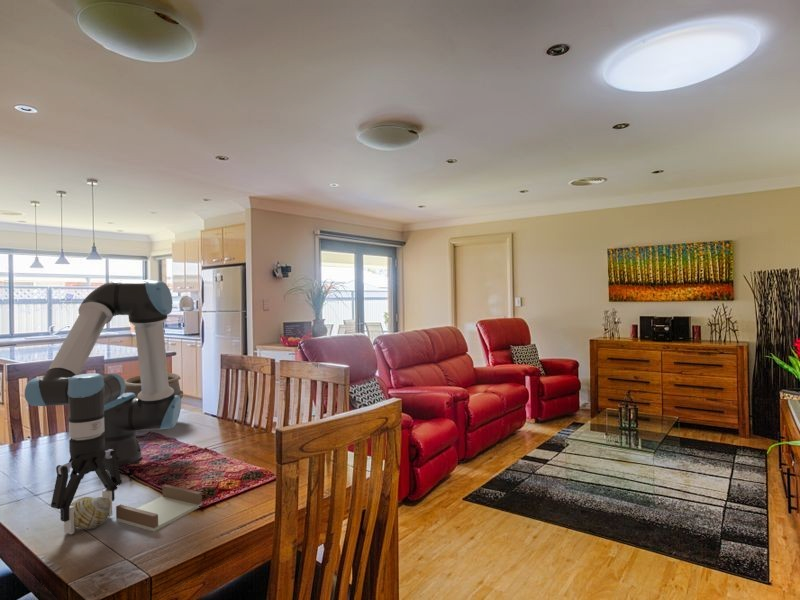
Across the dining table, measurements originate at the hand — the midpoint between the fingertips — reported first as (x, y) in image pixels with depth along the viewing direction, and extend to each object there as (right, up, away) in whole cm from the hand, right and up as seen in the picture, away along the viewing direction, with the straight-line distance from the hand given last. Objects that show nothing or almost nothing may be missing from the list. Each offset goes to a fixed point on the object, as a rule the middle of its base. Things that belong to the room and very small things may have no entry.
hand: (89, 523), depth 119 cm
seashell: (0, -1, +1) cm, 1 cm away
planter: (-31, 0, +90) cm, 95 cm away
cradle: (+15, 0, +7) cm, 16 cm away
